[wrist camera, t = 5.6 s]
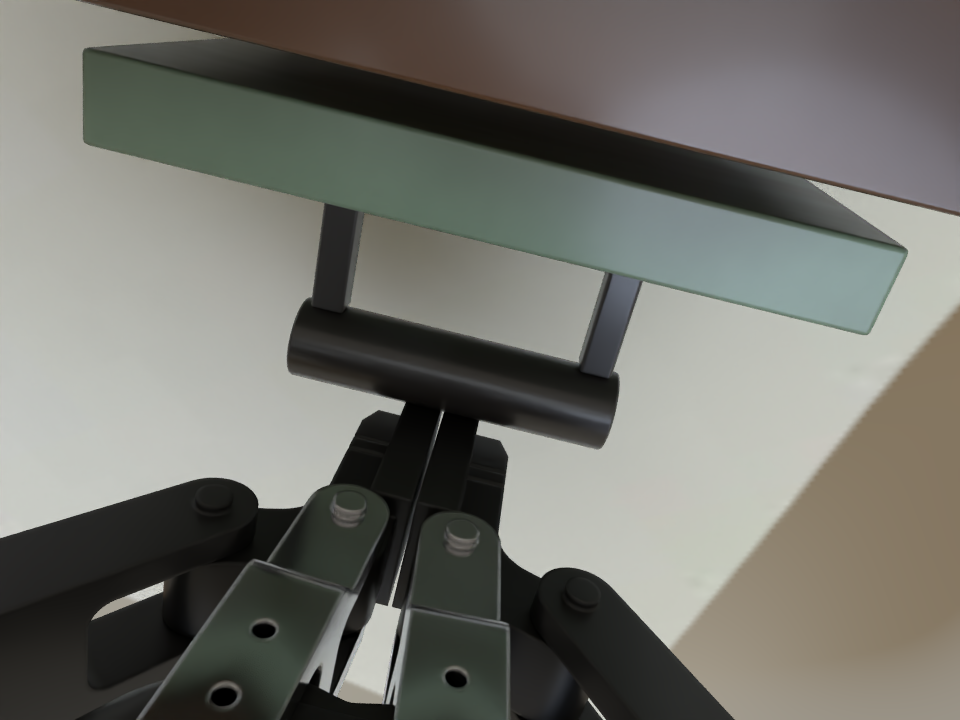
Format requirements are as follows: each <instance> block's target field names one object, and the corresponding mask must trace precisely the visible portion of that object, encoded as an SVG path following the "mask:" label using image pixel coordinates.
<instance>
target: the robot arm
mask: <svg viewBox="0 0 960 720" xmlns="http://www.w3.org/2000/svg"><path fill="white" fill-rule="evenodd" d="M441 413H442V411H439V410H435V409H431V408H427V407H423V406H418V405H414V404H410V403H405V406H404V408H403V411H402V413H401V415H396V414H392V413H388V412H384V411H380V410H378V411H376V412H375V413H373V414H371V415H370V416H368V417H367V418H365V419H363V420H362V422H361V424H360V426H359V428H358V430H357V432H356V434H355V437H354V438H353V440H352V442H351V444H350V446H349V448H348V450H347V452H346V454H345V456H344V458H343V459H342V461H341V463H340V465H339V467H338V469H337V471H336V473H335V475H334V477H333V479H332V481H331V483H330V485H328V486H325V487H322V488H320V489H318V490H317V491H316V492H314V493H313V494H312V495H311V496H310V498H309V499H308V501H307V502H306V504H305V505H304V506H302V507H297V508H290V509H266V508H258V499H257V497H256V495H255V494H254V493H253V491H252V490H250V489H249V488H248V487H247V486H245V485H243V484H241V483H239V482H236V481H233V480H230V479H224V478H203V479H197V480H193V481H190V482H186V483H183V484H180V485H176V486H173V487H170V488H166V489H163V490H160V491H156V492H153V493H150V494H146V495H143V496H140V497H136V498H133V499H130V500H126V501H123V502H120V503H116V504H113V505H110V506H106V507H103V508H100V509H96V510H93V511H90V512H86V513H83V514H80V515H76V516H73V517H70V518H66V519H63V520H60V521H56V522H53V523H50V524H46V525H43V526H40V527H36V528H33V529H30V530H26V531H23V532H20V533H16V534H13V535H10V536H7V537H3V538H0V720H603V719H602V718H601V717H600V716H599V714H598V713H597V712H596V710H595V709H594V708H593V707H592V705H591V704H590V703H589V701H588V698H590V700H591V701H592V702H593V703H594V705H595V706H596V707H597V709H598V710H599V711H600V712H601V714H602V715H603V716H604V717H605V719H606V720H734V719H733V718H732V716H731V715H730V714H729V713H728V712H727V711H726V710H725V709H724V708H723V707H722V706H721V705H720V704H719V702H718V701H717V700H716V699H715V698H714V697H713V696H712V695H711V694H710V693H709V692H708V691H707V690H706V688H704V687H703V685H702V684H701V683H700V682H699V681H698V680H697V679H696V678H695V677H694V676H693V674H692V673H691V672H690V671H689V670H688V669H687V668H686V667H685V666H684V665H683V664H682V663H681V662H680V661H679V659H678V658H677V657H676V656H675V655H674V654H673V653H672V652H671V651H670V650H669V649H668V648H667V647H666V645H665V644H664V643H663V642H662V641H661V640H660V639H659V638H658V637H657V636H656V635H655V634H654V633H653V631H652V630H651V629H650V628H649V627H648V626H647V625H646V624H645V623H644V622H643V621H642V620H641V619H640V618H639V616H638V615H637V614H636V613H635V612H634V611H633V610H632V609H631V608H630V607H629V606H628V605H627V604H626V602H625V601H624V600H623V599H622V598H621V597H620V596H619V595H618V594H617V593H616V592H615V591H614V590H613V588H612V587H610V586H609V585H608V584H607V583H606V582H605V581H603V580H602V579H601V578H599V577H597V576H595V575H594V574H591V573H589V572H587V571H584V570H580V569H576V568H557V569H553V570H551V571H549V572H547V573H546V574H545V575H544V576H543V577H542V578H540V577H538V576H536V575H534V574H532V573H530V572H528V571H526V570H524V569H523V568H521V567H520V566H518V565H517V564H515V563H514V562H513V561H512V560H511V559H510V558H509V557H508V556H507V555H506V554H505V552H504V551H503V549H502V548H501V541H500V538H499V535H498V531H499V523H500V516H501V508H502V501H503V493H504V485H505V478H506V470H507V462H508V455H507V453H506V451H505V450H504V448H503V446H502V444H501V442H500V441H499V440H495V439H491V438H487V437H483V436H479V435H476V432H477V427H478V423H479V420H475V419H471V418H467V417H463V416H459V415H455V414H451V413H447V412H444V414H443V418H442V421H441V424H440V427H439V431H438V434H437V430H438V426H439V421H440V417H441ZM436 434H437V437H436ZM435 438H436V440H435ZM434 442H435V444H434ZM407 540H408V541H407ZM406 544H407V545H406ZM405 547H406V549H405ZM404 550H405V553H404ZM403 554H404V558H403V562H402V566H401V570H400V575H399V579H398V583H397V587H396V592H395V596H394V600H393V604H392V607H395V608H399V609H401V613H400V617H399V621H398V626H397V629H396V634H395V638H394V642H393V646H392V651H391V657H390V663H389V668H388V674H387V680H386V685H385V691H384V697H383V702H382V704H365V703H350V702H347V701H344V700H342V699H340V698H338V697H337V696H338V694H339V691H340V689H341V686H342V684H343V682H344V680H345V677H346V675H347V673H348V671H349V668H350V666H351V664H352V661H353V659H354V657H355V654H356V652H357V650H358V648H359V645H360V643H361V641H362V638H363V635H364V630H365V626H366V624H367V623H368V621H369V620H370V618H371V615H372V612H373V609H374V606H375V603H378V604H382V605H386V606H388V603H389V600H390V597H391V593H392V590H393V587H394V583H395V580H396V577H397V573H398V570H399V567H400V564H401V560H402V557H403ZM163 581H164V589H163V592H162V593H159V594H157V595H154V596H152V597H149V598H147V599H144V600H142V601H139V602H137V603H134V604H132V605H129V606H127V607H124V608H122V609H119V610H117V611H114V612H112V613H109V614H107V615H104V616H102V617H99V618H97V619H94V620H91V619H92V618H93V616H94V615H95V614H96V613H97V612H98V611H99V610H100V609H101V608H102V607H104V606H105V605H107V604H108V603H110V602H112V601H114V600H116V599H119V598H122V597H125V596H127V595H130V594H132V593H135V592H137V591H140V590H143V589H145V588H148V587H150V586H153V585H155V584H158V583H161V582H163Z"/></svg>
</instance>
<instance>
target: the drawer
mask: <svg viewBox="0 0 960 720" xmlns="http://www.w3.org/2000/svg"><path fill="white" fill-rule="evenodd" d="M83 140H84V143H86V144H88V145H90V146H94V147H98V148H102V149H106V150H110V151H114V152H119V153H123V154H127V155H131V156H135V157H139V158H143V159H147V160H151V161H155V162H159V163H163V164H167V165H172V166H176V167H180V168H184V169H188V170H192V171H196V172H200V173H204V174H208V175H212V176H216V177H220V178H225V179H229V180H233V181H237V182H241V183H245V184H249V185H253V186H257V187H261V188H265V189H269V190H273V191H277V192H282V193H286V194H290V195H294V196H298V197H302V198H306V199H310V200H314V201H318V202H322V203H325V204H324V212H323V219H322V227H321V234H320V242H319V249H318V257H317V265H316V272H315V280H314V287H313V295H312V297H310V298H307V299H306V300H305V301H304V302H303V304H302V305H301V307H300V309H299V311H298V313H297V316H296V318H295V321H294V324H293V327H292V331H291V334H290V339H289V344H288V351H287V367H288V371H289V372H290V373H291V374H292V375H297V376H301V377H305V378H309V379H313V380H317V381H321V382H325V383H329V384H333V385H337V386H341V387H345V388H349V389H353V390H357V391H362V392H366V393H370V394H374V395H378V396H382V397H386V398H390V399H394V400H398V401H402V402H406V403H410V404H414V405H418V406H423V407H427V408H431V409H435V410H439V411H443V412H447V413H451V414H455V415H459V416H463V417H467V418H471V419H475V420H479V421H483V422H488V423H492V424H496V425H500V426H504V427H508V428H512V429H516V430H520V431H524V432H528V433H532V434H536V435H540V436H544V437H548V438H553V439H557V440H561V441H565V442H569V443H573V444H577V445H581V446H585V447H589V448H593V449H600V448H602V446H603V445H604V443H605V441H606V439H607V437H608V435H609V432H610V429H611V426H612V423H613V420H614V416H615V412H616V407H617V402H618V396H619V386H620V381H619V375H618V373H616V372H614V371H613V370H614V367H615V364H616V361H617V358H618V355H619V352H620V349H621V346H622V343H623V339H624V336H625V333H626V330H627V327H628V324H629V321H630V318H631V315H632V312H633V309H634V306H635V303H636V300H637V297H638V294H639V291H640V288H641V285H642V282H643V281H644V282H648V283H652V284H657V285H661V286H665V287H669V288H673V289H677V290H681V291H685V292H689V293H693V294H697V295H701V296H705V297H710V298H714V299H718V300H722V301H726V302H730V303H734V304H738V305H742V306H746V307H750V308H754V309H758V310H763V311H767V312H771V313H775V314H779V315H783V316H787V317H791V318H795V319H799V320H803V321H807V322H811V323H816V324H820V325H824V326H828V327H832V328H836V329H840V330H844V331H848V332H852V333H856V334H860V335H868V334H869V333H870V332H871V330H872V327H873V325H874V323H875V321H876V319H877V317H878V315H879V313H880V311H881V309H882V307H883V305H884V303H885V301H886V298H887V296H888V294H889V292H890V290H891V288H892V286H893V284H894V282H895V280H896V278H897V276H898V274H899V272H900V269H901V267H902V265H903V263H904V261H905V259H906V257H907V254H908V250H907V249H906V248H905V247H903V246H902V245H900V244H899V243H898V242H896V241H895V240H893V239H892V238H890V237H889V236H887V235H886V234H884V233H883V232H882V231H880V230H879V229H877V228H876V227H874V226H873V225H871V224H870V223H868V222H867V221H866V220H864V219H863V218H861V217H860V216H858V215H857V214H855V213H854V212H852V211H851V210H850V209H848V208H847V207H845V206H844V205H842V204H841V203H839V202H838V201H836V200H835V199H834V198H832V197H831V196H829V195H828V194H826V193H825V192H823V191H822V190H820V189H819V188H818V187H816V186H815V185H813V184H812V183H810V182H809V181H807V180H806V179H804V178H800V177H796V176H792V175H788V174H784V173H780V172H775V171H771V170H767V169H763V168H759V167H755V166H751V165H747V164H743V163H739V162H735V161H730V160H726V159H722V158H718V157H714V156H710V155H706V154H702V153H698V152H694V151H690V150H686V149H681V148H677V147H673V146H669V145H665V144H661V143H657V142H653V141H649V140H645V139H641V138H637V137H632V136H628V135H624V134H620V133H616V132H612V131H608V130H604V129H600V128H596V127H592V126H588V125H583V124H579V123H575V122H571V121H567V120H563V119H559V118H555V117H551V116H547V115H543V114H538V113H534V112H530V111H526V110H522V109H518V108H514V107H510V106H506V105H502V104H498V103H494V102H489V101H485V100H481V99H477V98H473V97H469V96H465V95H461V94H457V93H453V92H449V91H444V90H440V89H436V88H432V87H428V86H424V85H420V84H416V83H412V82H408V81H404V80H400V79H395V78H391V77H387V76H383V75H379V74H375V73H371V72H367V71H363V70H359V69H355V68H351V67H346V66H342V65H338V64H334V63H330V62H326V61H322V60H318V59H314V58H310V57H306V56H302V55H297V54H293V53H289V52H285V51H281V50H277V49H273V48H269V47H265V46H261V45H257V44H252V43H248V42H244V41H240V40H236V39H232V38H223V39H208V40H193V41H178V42H163V43H148V44H133V45H119V46H104V47H89V48H85V49H84V51H83ZM364 213H367V214H371V215H375V216H379V217H383V218H388V219H392V220H396V221H400V222H404V223H408V224H412V225H416V226H420V227H424V228H428V229H432V230H436V231H441V232H445V233H449V234H453V235H457V236H461V237H465V238H469V239H473V240H477V241H481V242H485V243H489V244H494V245H498V246H502V247H506V248H510V249H514V250H518V251H522V252H526V253H530V254H534V255H538V256H542V257H547V258H551V259H555V260H559V261H563V262H567V263H571V264H575V265H579V266H583V267H587V268H591V269H595V270H599V271H604V272H605V275H604V278H603V281H602V284H601V288H600V291H599V294H598V297H597V301H596V304H595V307H594V310H593V314H592V317H591V320H590V323H589V327H588V330H587V333H586V337H585V340H584V343H583V346H582V350H581V353H580V356H579V363H577V362H573V361H569V360H565V359H561V358H557V357H553V356H549V355H544V354H540V353H536V352H532V351H528V350H524V349H520V348H516V347H512V346H508V345H504V344H500V343H496V342H492V341H488V340H483V339H479V338H475V337H471V336H467V335H463V334H459V333H455V332H451V331H447V330H443V329H439V328H435V327H431V326H426V325H422V324H418V323H414V322H410V321H406V320H402V319H398V318H394V317H390V316H386V315H382V314H378V313H374V312H369V311H365V310H361V309H357V308H353V307H349V306H348V305H349V303H350V302H351V295H352V289H353V282H354V276H355V270H356V263H357V257H358V251H359V244H360V238H361V231H362V225H363V219H364Z"/></svg>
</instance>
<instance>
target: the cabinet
mask: <svg viewBox="0 0 960 720" xmlns="http://www.w3.org/2000/svg"><path fill="white" fill-rule="evenodd" d="M77 1H81V2H85V3H89V4H93V5H97V6H101V7H105V8H109V9H114V10H118V11H122V12H126V13H130V14H134V15H138V16H142V17H146V18H150V19H154V20H159V21H163V22H167V23H171V24H175V25H179V26H183V27H187V28H191V29H195V30H199V31H203V32H208V33H212V34H216V35H220V36H224V37H228V38H232V39H236V40H240V41H244V42H248V43H252V44H257V45H261V46H265V47H269V48H273V49H277V50H281V51H285V52H289V53H293V54H297V55H302V56H306V57H310V58H314V59H318V60H322V61H326V62H330V63H334V64H338V65H342V66H346V67H351V68H355V69H359V70H363V71H367V72H371V73H375V74H379V75H383V76H387V77H391V78H395V79H400V80H404V81H408V82H412V83H416V84H420V85H424V86H428V87H432V88H436V89H440V90H444V91H449V92H453V93H457V94H461V95H465V96H469V97H473V98H477V99H481V100H485V101H489V102H494V103H498V104H502V105H506V106H510V107H514V108H518V109H522V110H526V111H530V112H534V113H538V114H543V115H547V116H551V117H555V118H559V119H563V120H567V121H571V122H575V123H579V124H583V125H588V126H592V127H596V128H600V129H604V130H608V131H612V132H616V133H620V134H624V135H628V136H632V137H637V138H641V139H645V140H649V141H653V142H657V143H661V144H665V145H669V146H673V147H677V148H681V149H686V150H690V151H694V152H698V153H702V154H706V155H710V156H714V157H718V158H722V159H726V160H730V161H735V162H739V163H743V164H747V165H751V166H755V167H759V168H763V169H767V170H771V171H775V172H780V173H784V174H788V175H792V176H796V177H800V178H804V179H808V180H812V181H816V182H820V183H824V184H829V185H833V186H837V187H841V188H845V189H849V190H853V191H857V192H861V193H865V194H869V195H874V196H878V197H882V198H886V199H890V200H894V201H898V202H902V203H906V204H910V205H914V206H918V207H923V208H927V209H931V210H935V211H939V212H943V213H947V214H951V215H955V216H959V217H960V0H77Z"/></svg>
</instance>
